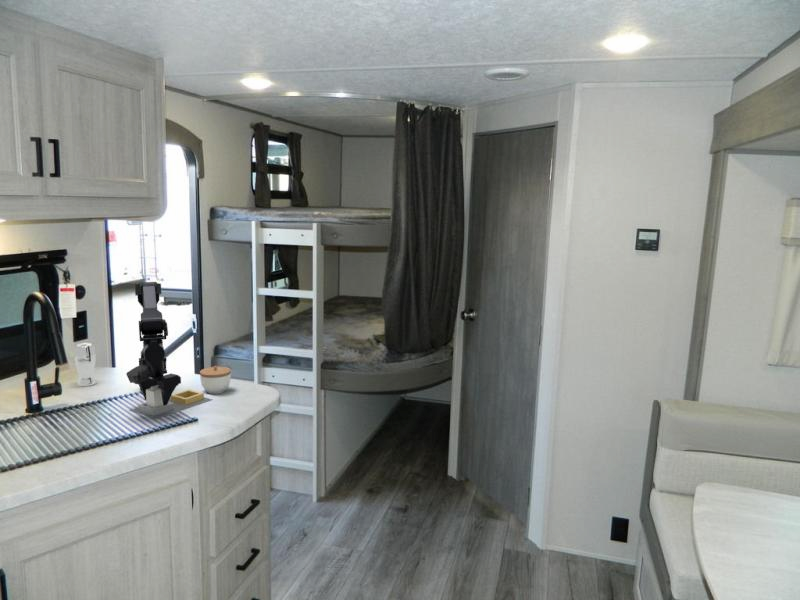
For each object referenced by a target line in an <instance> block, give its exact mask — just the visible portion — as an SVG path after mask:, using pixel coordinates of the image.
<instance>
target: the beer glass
mask: <svg viewBox="0 0 800 600" xmlns="http://www.w3.org/2000/svg"><path fill="white" fill-rule="evenodd" d="M96 357H97V355H96V348H95V343H94V342H93V343H92V342H81V343H77V344H74V345H73V359H74V364H75V368H76V371H77V375H78V376H77V386H78V387H89V386H94V385H96V384H97V381H96V380H97V379H96V376H95V368H96V359H97V358H96Z"/></svg>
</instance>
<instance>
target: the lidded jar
mask: <svg viewBox="0 0 800 600" xmlns="http://www.w3.org/2000/svg"><path fill="white" fill-rule="evenodd" d="M199 376H200V383H201V386H202V387H203V389H204V391H206V392H207V393H208V394H211V395H212V394H213V395H216V394H222V393H224V392H225V391H226V389H228V387H229V386H230V383H231V379H232V378H231V377H232V369H231V368H230V367H227V366H226V367H225V366H217V365H214V366H209V367H205V368H203V369H201V370H200V371H199Z"/></svg>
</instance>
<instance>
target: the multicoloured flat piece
mask: <svg viewBox="0 0 800 600" xmlns="http://www.w3.org/2000/svg"><path fill="white" fill-rule="evenodd" d="M211 401H213V399H212V398H209V397H205V394H204V392H199V391H196V390H192V389H186V390H183V391H180V392H177V393H172V395H171V397H170V399H169V401H168V404H167V405H165V406H164V405H162V406H159V407H156V408H152V407H148V406H147V402H144V403H141V404H140V403H139V404H138V405H137V406H138V407H135V408H131V409H129V410H128V411H129V412H132V413H136V414H139V415H142V416H145V417H149V418H151V419H155V420H158V419H161V418H164V417H167V416H170V415H174V414H175V413H179V412H182V411H184V410H185V411H186V410H188V409H190V408H194V407H196V406H200V405H203V404H206V403H207V402H211Z"/></svg>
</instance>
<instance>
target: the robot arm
mask: <svg viewBox="0 0 800 600" xmlns="http://www.w3.org/2000/svg"><path fill="white" fill-rule="evenodd" d="M162 294H163V293H162V283H160V282H159V283H158V281H143V282H139V281H138V283H137V284H136V283H135V284H134V296H135V297H136V296H137V302H138V303H139V305H140V306H141V307H142V312H141V313H140V320H138V333H139V334H138V335H139V342H142V346H143V347H142V349H141V351H140V357H138V366H135V367H134V368H132V369H130V370H129V371H127V372H126V374H125V375H126V376H127V379H128V381H129V383H130V384H131V383H133V384H135V385H138V386H139V389H140V392H141V393H142V395H143V397H144V400H145V401H146V389H150V388H151V387H152V386H155V385H158V387H157V388H158V389H160V390H161V394H162V401H163V405H164V406H165V405H167V404H168V401H169V399H170V397H171V395H173V394H174V391H175V389H176V387H178V386H179V385H180V384H182V377H181V376H180V375H179V374H175V373H169V374H168V369H167V357H166V356H165V354H166V352H165V347H164V343H163V342H164V341H163V340H167V337H168V336H169V330H168V322H167V321H166V319H163V314H162V312H161V311H160V310H159V309H158V303H159V301H160V295H162ZM164 374H165V375H164Z"/></svg>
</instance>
